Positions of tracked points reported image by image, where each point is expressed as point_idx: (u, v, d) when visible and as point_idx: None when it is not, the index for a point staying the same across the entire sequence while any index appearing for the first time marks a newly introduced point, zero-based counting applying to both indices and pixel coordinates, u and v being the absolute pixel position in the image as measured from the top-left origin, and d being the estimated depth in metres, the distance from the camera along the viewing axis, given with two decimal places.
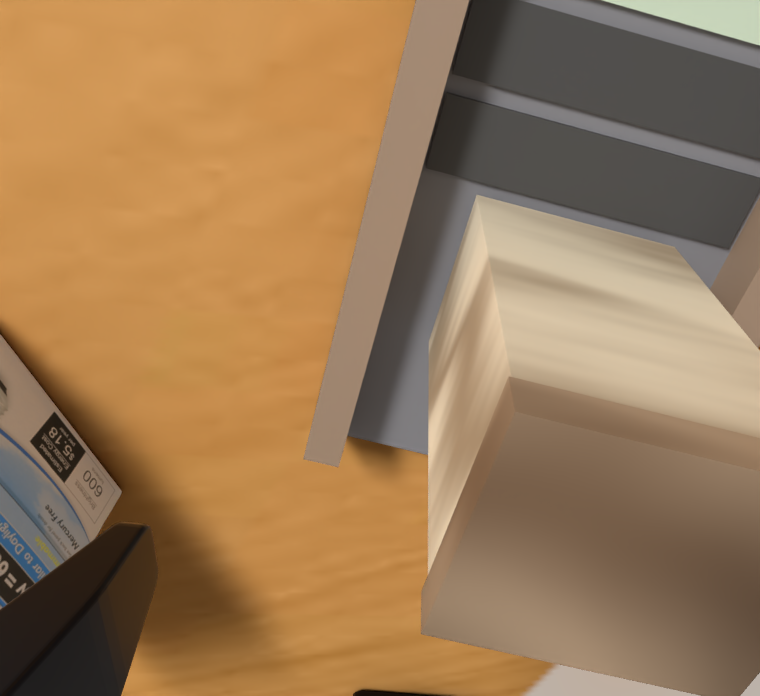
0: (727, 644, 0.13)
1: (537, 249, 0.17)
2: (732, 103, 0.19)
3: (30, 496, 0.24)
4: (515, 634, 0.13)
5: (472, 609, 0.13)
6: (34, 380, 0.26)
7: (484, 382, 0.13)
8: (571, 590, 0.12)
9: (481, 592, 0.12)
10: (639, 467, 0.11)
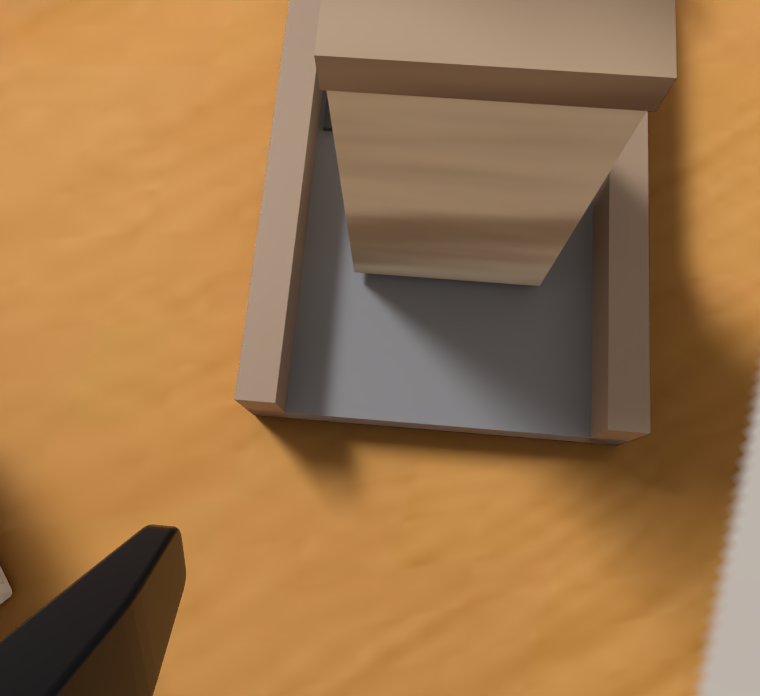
0: (623, 0, 0.12)
1: None
2: None
3: None
4: (410, 34, 0.12)
5: (359, 11, 0.12)
6: None
7: None
8: None
9: None
10: None
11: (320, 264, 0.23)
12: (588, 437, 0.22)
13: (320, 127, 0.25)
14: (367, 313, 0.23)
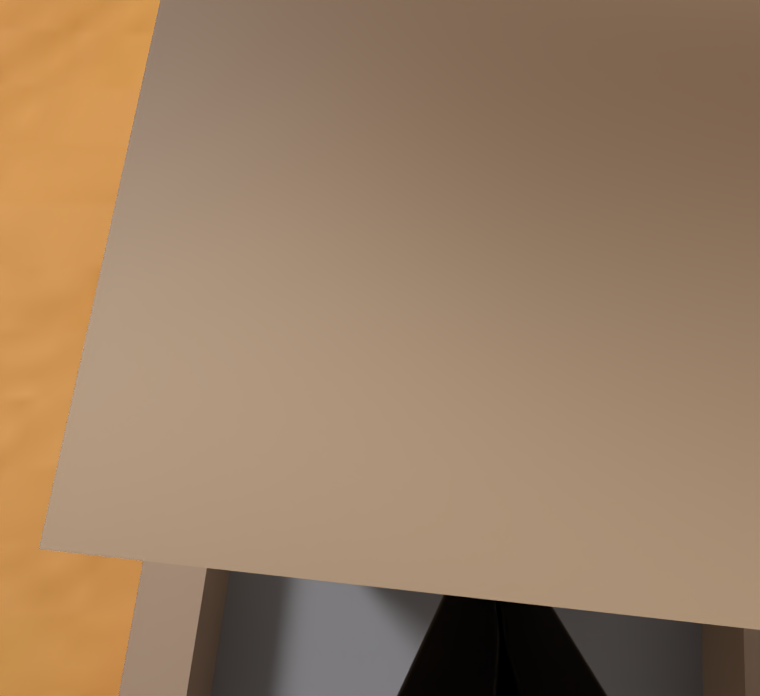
0: None
1: None
2: None
3: None
4: (361, 476, 0.04)
5: (199, 388, 0.04)
6: None
7: None
8: (480, 245, 0.04)
9: (214, 309, 0.04)
10: None
11: None
12: None
13: None
14: (334, 639, 0.14)
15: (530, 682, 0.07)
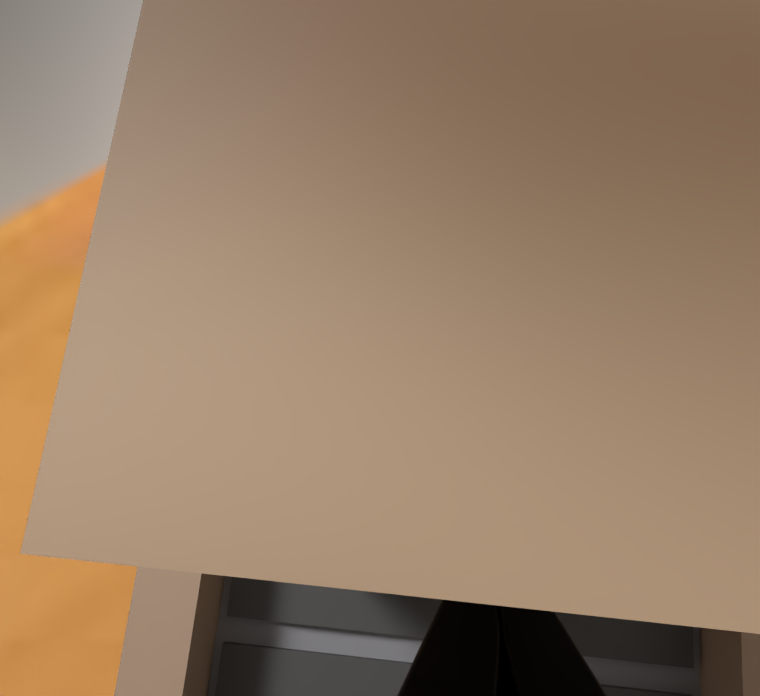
0: None
1: None
2: None
3: None
4: (348, 478, 0.04)
5: (184, 388, 0.04)
6: None
7: None
8: (470, 243, 0.04)
9: (200, 308, 0.04)
10: None
11: None
12: None
13: None
14: None
15: (530, 682, 0.07)
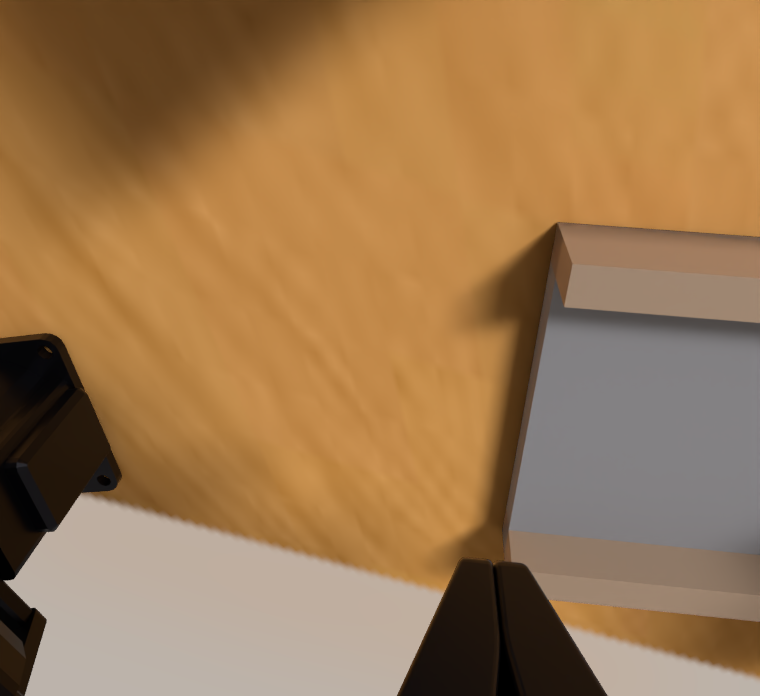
0: None
1: None
2: None
3: None
4: None
5: None
6: None
7: None
8: None
9: None
10: None
11: None
12: (509, 527, 0.24)
13: None
14: (662, 360, 0.20)
15: (530, 682, 0.07)
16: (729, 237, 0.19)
